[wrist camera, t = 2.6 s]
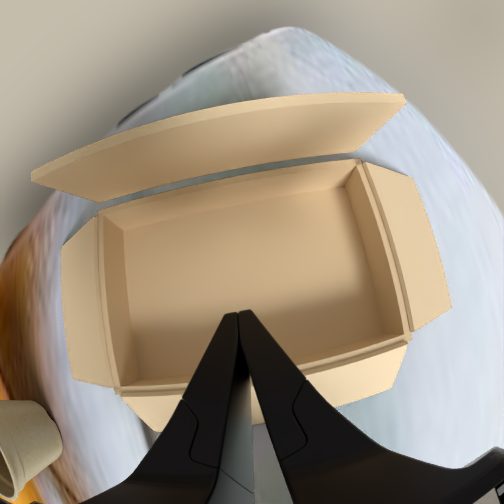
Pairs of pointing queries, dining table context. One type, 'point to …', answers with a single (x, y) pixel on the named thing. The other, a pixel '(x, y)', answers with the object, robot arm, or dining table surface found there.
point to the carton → (254, 281)
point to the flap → (220, 142)
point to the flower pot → (25, 444)
